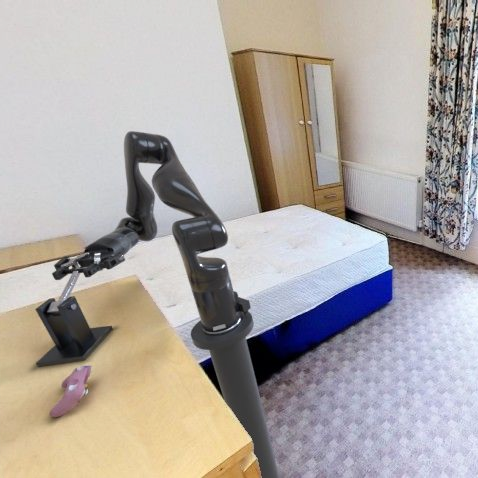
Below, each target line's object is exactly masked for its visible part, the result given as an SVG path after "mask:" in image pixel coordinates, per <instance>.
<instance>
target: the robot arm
mask: <svg viewBox="0 0 478 478" xmlns="http://www.w3.org/2000/svg"><path fill="white" fill-rule="evenodd" d="M123 155H124V156H123V159H124V170H125V171H124V172H125V179H126V203H125V213H126V214H127V216H126V217H123V218H120V220H119V222H118V223H117V226H116V227H115V229H114V230H112V231H111V232H109V233H108V234H105V235H103V236H101V237H100V238H98V239H97V240H95V241H93V242H92V243H90V244H88V245H87V246H86V247H85V249H84V250H83V253H81V254H79V255H77V256H76V257H73V258H70V256H69V255H68V256H67V255H65V256H63V257H62V258H61V259H59V260H58V261H57V262H56V263H54V264H53V267H54V269H55V270H54V271H52V273H51V275H52V277H53V279H54V280H55V281H60V280H63V279H64V278H65V277H67V276H68V275H69V274H63V270H69V269H70V267H71V269H80V268H86V269H84V270H83V273H82V274H83V276H84V278H91V277H92V276H93V275H95V274H97V273H98V272H102V271H103V270H104V269H106V270H111V269H114V268H115V267H117V266H118V265H120V264H122V263H124V262H125V261H126V258H125V255H126V254H127V253H128V252H129V251H130V250H131V249H133V248H134V247H135V246H137V245H138V244H139V242H140V241H141V242H151V241H153V240H154V239H155V238H156V237H157V235H158V233H159V231H158V227H159V226H158V223H157V220H156V217H155V205H156V195H157V197H158V198H159V200H160V202H162V203H163V204H164V205H165V206H167V207H169V208H170V209H173V210H176V211H177V212H180V213H182V214H186V215H188V216H190V217H189V218H184V219H179V220H176V221H174V222H173V223H172V226H171V232H172V235H173V236H172V237H173V240H174V242H175V245H176V248H177V249H178V252H179V255H180V257H181V260H182V264H183V266H184V269H185V273H186V275H187V276H186V277H187V280H188V283H189V286H190V290H191V292H192V296H193V299H194V303H195V307H196V309H197V313H198V316H199V319H200V320H201V323H202V327H203V331H204V333H205V334H207V335H221V334H225V333H228V332H230V331H232V330H233V329H235V328H236V327H237V326H238V325H239V324H240V322H241V320H243V319H244V318H243V314H242V312H244V315H246V314H247V312H249V310H250V309H251V308H252V307H251V303H250V300H248V299H245V298H244V297H240V296H239V293H238V291H235V290H234V287H233V283H232V279H231V276H230V271H229V267H228V263H227V261H226V260H224V259H223V258H221V257H216V256H215V257H213V256H211V257H210V256H201V254H203V253H207V252H211V251H214V250H219V249H221V248H223V247H225V246H226V245H227V244H228V242H229V235H228V231H227V229H226V227H225V224H224V223H223V222H222V220H221V218H220V217H219V216H218V214H217V213H216V212H215V211H214V210H213V209H212V208H211V207H210V205H209V204H208V203H207V202H206V199H204V197H203V196H202V194H201V192H200V191H199V189H198V187H197V186H196V184H195V182H194V180H193V179H192V178H191V176H190V174H188V172H187V171H186V169H185V167H184V165H183V164H182V162H181V160H180V159H179V156H178V154H177V151H176V150H175V148H174V145H173V144H172V142H171V140H170V139H169V138H168V137H167V136H164V135H162V134H157V133H149V132H142V131H135V130H129V131H127V132H126V134H125V136H124V139H123ZM140 164H149V165H160V166H159V167H158V168H157V169H156V170H155V171H154V173H153V174H152V177H151V185H152V186H151V185H150V184H149V182H148V181H147V180H146V178H145V177H144V176H143V175H142V172H141V170H140ZM153 189H154V190H153ZM155 193H156V195H155ZM199 254H200V255H199Z"/></svg>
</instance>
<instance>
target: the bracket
mask: <svg viewBox="0 0 478 478" xmlns="http://www.w3.org/2000/svg"><path fill="white" fill-rule="evenodd" d="M54 301H56V299H55V298H54V297H53V298H47V300H45V301H44V302H43V303H41V304H40V305H38V306H37V307H36V308H35V309H34V310H35V312H36V313H37V315H38V317H39V318H40V320H41V323H42V324H43V326H44V327H45V330H46V332H47V333H48V335H49V336H50V339H51V340H52V342H53V343H54V346H52V348H50V349H49V350H48V351H46V353H45V354H44V355H43V356H42V357H40V358H39V359H38V360H37V361H36V362H35V364H36V366H37V368H41V367H49V366H55V365H61V364H68V363H75V362H83V361H85V360H86V359H87V358H88V357H89V356H90V355H91V354H92V353H93V352H94V351H95V350H96V349H97V347H98V346H99V345H100V344H101V343H102V342H103V341H104V340H105V339H106V337H108V336H109V334H110V333H111V332H112V331H113V330H114V329H113V326H112V325H104V326H96V327H90V325H89V323H88V321H87V319H86V316H85V315H84V312H83V311H82V309H81V306H80V304H79V302H78V301H77V298H76V296H75V295H72V296H71V295H70V296H69V298H67V299H66V300H65V301H64V302H62V303H61V304H60V305H59V306H57V308H58V310H59V312H60V314H61V316H52V315H51V314H49V313H48V312H47V311H48V309H49V307H50V305H51V303H52V302H54Z"/></svg>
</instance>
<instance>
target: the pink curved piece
mask: <svg viewBox="0 0 478 478" xmlns="http://www.w3.org/2000/svg"><path fill="white" fill-rule="evenodd" d="M91 373H92V365H82V366H76V368H74V369H73V371H72V372H71V374H69V375H68V376H67V377H66V378H65V379H64V380H63V381H62V383H61V388H63V389H65V390H64V394H63V395H62V398H61V399H60V400H59V401H58V403H56V404H55V405H54V406H53V407H51V409H50V411H49V417H51V418H59V417H60V416H63V415H65V414H67V413H69V412H70V411H71V410H72V409H73V408H74V407H75V406H76V405H78V404H79V403H80V401H81V399H82V398H83V397H84V396H85V397H86V396H87V395H88V392H89V389H88V385H89V384H87V381H88V379H89V378H90V376H91Z"/></svg>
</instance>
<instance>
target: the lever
mask: <svg viewBox="0 0 478 478" xmlns="http://www.w3.org/2000/svg"><path fill="white" fill-rule="evenodd" d="M84 269H86V268H80V269H72V268H69V270H63V274H68V275H70V277H69V279H68V281H67V283H66V284H65V286H64V288H63V291H62V293H61V295H60V297H59V298H58V300H55V301H54V302H52V303H51V305H50V307H49V309H48V311H47V312H48V313H49V314H51V315H52V316H61V314H60V312H59V310H58V308H57V306H59V305H60V304H61V303H62V302H64V301H65V300H66V299H67V298H69V297H71V293H72V291H73V289H74V288H75V286H76V284H77V282H78V279H79V278H80V275H81V274H84V273H83V270H84Z"/></svg>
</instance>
